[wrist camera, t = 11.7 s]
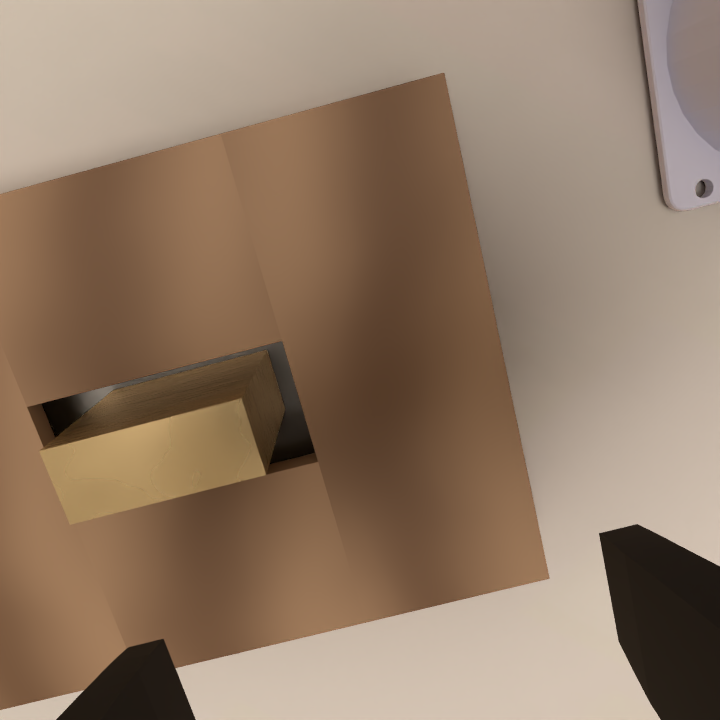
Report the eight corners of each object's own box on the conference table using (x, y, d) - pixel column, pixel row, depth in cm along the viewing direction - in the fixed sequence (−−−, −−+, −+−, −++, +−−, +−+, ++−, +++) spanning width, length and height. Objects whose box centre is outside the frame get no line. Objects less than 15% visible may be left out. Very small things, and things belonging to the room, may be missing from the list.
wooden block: (267, 349, 20) (241, 398, 15) (285, 408, 20) (266, 474, 15) (113, 389, 20) (39, 451, 15) (135, 447, 20) (69, 524, 15)
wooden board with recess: (427, 93, 18) (444, 72, 15) (521, 526, 21) (549, 578, 18) (-169, 256, 19) (-264, 266, 16) (14, 649, 22) (-36, 718, 19)
